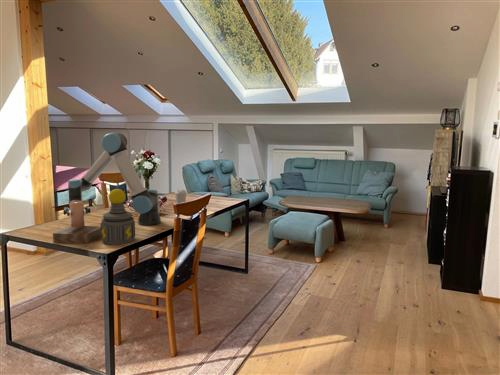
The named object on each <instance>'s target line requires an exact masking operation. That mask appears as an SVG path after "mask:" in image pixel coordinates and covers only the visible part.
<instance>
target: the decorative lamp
mask: <svg viewBox="0 0 500 375" xmlns="http://www.w3.org/2000/svg"><path fill="white" fill-rule="evenodd" d="M126 197H127V196H126V193H125V191H124V190H123V189H121V188H114V189H112V190H111V191H109V194H108V200H109V202H110V209H109V211H107V212H106V213H103V216H102V217H103V218H102V219H101V222H100V227H101V236H100V238H101V239H102V240H101V241H102V243H104V244H106V243H107V244H106V245H113V244H116V245H123V244H122V243H125V244H128V242H129V243H132V242H133V241H134V240H135V237H136V221H135V218H134V217H133V213H132V212H131V211H129V210H127V209H126V207H125V204H124V202H125V201H126V199H127V198H126Z"/></svg>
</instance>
